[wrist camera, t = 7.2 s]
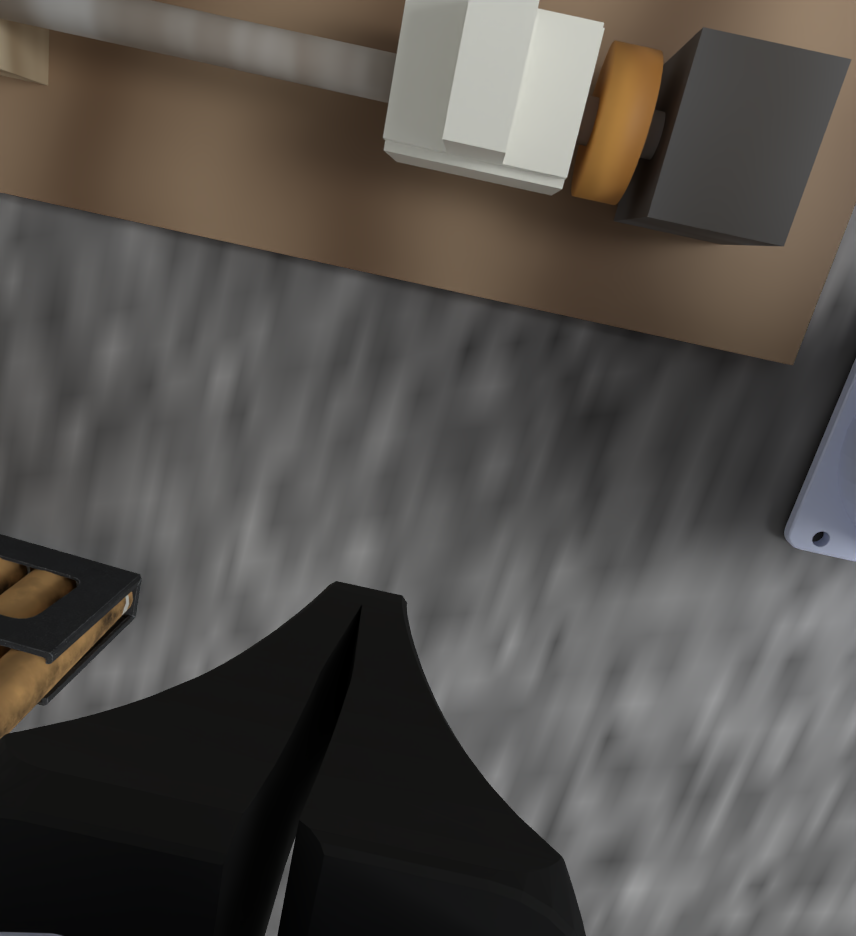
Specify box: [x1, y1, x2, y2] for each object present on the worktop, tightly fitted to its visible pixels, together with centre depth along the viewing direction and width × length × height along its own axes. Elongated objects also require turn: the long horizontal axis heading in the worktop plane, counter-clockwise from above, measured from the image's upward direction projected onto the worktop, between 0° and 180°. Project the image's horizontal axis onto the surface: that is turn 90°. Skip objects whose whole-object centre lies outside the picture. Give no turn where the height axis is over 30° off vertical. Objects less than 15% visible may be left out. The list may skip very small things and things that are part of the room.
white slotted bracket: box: [383, 0, 605, 196], centre depth 14 cm, size 4×3×5 cm
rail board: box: [0, 0, 856, 365], centre depth 16 cm, size 24×9×5 cm, turn 79°
